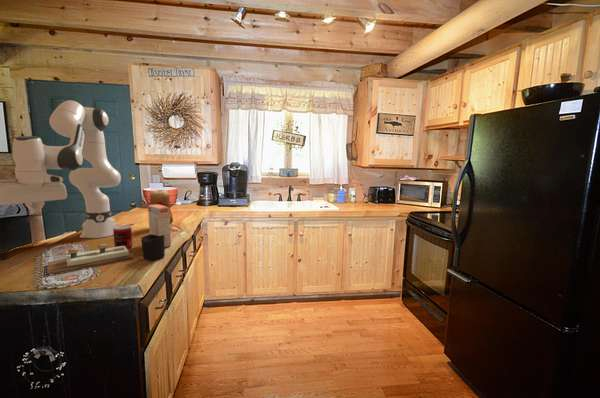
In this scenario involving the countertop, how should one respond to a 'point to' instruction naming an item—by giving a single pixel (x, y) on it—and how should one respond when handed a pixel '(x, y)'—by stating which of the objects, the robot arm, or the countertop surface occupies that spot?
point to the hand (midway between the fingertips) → (36, 213)
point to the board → (62, 264)
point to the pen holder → (153, 247)
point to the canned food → (123, 236)
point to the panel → (96, 255)
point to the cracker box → (160, 222)
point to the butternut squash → (161, 200)
